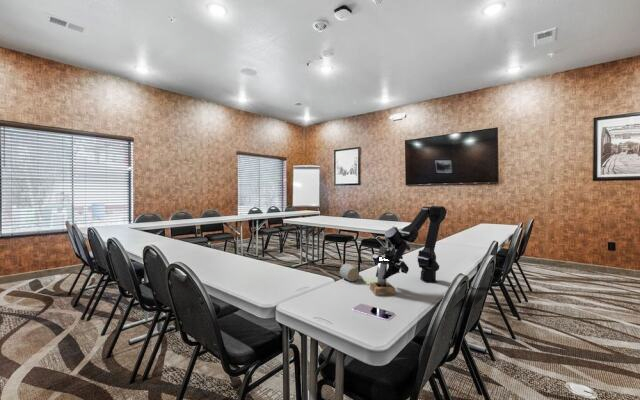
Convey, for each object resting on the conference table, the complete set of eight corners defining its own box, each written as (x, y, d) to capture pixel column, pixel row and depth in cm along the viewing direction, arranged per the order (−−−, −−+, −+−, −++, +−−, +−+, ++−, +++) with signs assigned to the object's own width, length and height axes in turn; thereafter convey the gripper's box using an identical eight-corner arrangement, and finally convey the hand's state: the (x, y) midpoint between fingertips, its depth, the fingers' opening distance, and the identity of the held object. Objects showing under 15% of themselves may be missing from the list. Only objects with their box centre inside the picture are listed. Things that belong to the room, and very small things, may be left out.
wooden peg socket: (387, 288, 137) (387, 281, 137) (394, 294, 128) (394, 288, 128) (369, 288, 136) (369, 282, 136) (375, 295, 127) (375, 288, 127)
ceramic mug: (348, 283, 144) (348, 267, 144) (339, 278, 151) (339, 263, 151) (365, 280, 149) (365, 265, 149) (355, 276, 156) (356, 262, 156)
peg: (384, 290, 134) (385, 262, 134) (387, 293, 130) (388, 264, 130) (376, 290, 134) (376, 262, 134) (378, 293, 130) (379, 264, 130)
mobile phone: (360, 302, 117) (396, 312, 108) (360, 305, 117) (396, 315, 108) (351, 308, 111) (387, 319, 102) (351, 311, 111) (387, 322, 102)
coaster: (379, 278, 153) (379, 277, 153) (386, 284, 143) (386, 283, 143) (361, 278, 152) (361, 277, 151) (366, 284, 142) (367, 283, 142)
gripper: (375, 237, 141) (357, 262, 136) (404, 243, 126) (385, 272, 120) (386, 251, 146) (369, 276, 140) (416, 259, 130) (398, 287, 125)
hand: (379, 277), depth 131 cm, fingers closed on peg, 4 cm apart
